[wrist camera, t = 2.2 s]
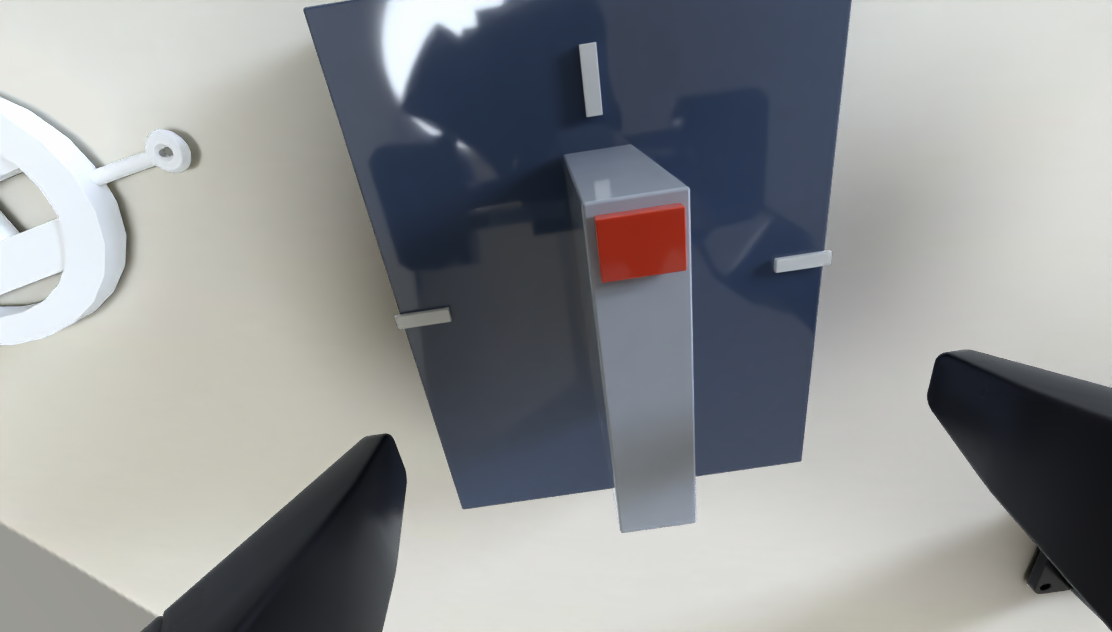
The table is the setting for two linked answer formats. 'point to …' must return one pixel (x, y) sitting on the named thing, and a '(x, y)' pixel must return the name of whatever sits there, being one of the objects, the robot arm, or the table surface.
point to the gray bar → (638, 328)
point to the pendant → (66, 222)
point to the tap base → (544, 216)
